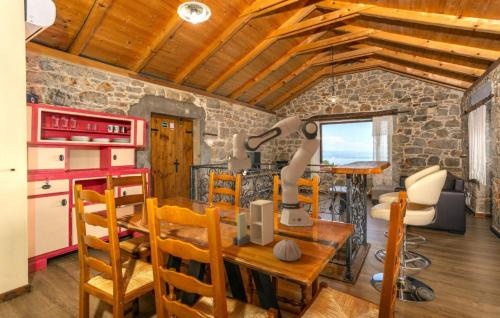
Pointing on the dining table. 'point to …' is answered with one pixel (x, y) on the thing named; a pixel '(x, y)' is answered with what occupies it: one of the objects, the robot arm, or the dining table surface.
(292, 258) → the sea urchin shell
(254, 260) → the dining table surface
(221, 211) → the wall hook
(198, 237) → the dining table surface
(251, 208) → the cabinet
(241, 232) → the door
